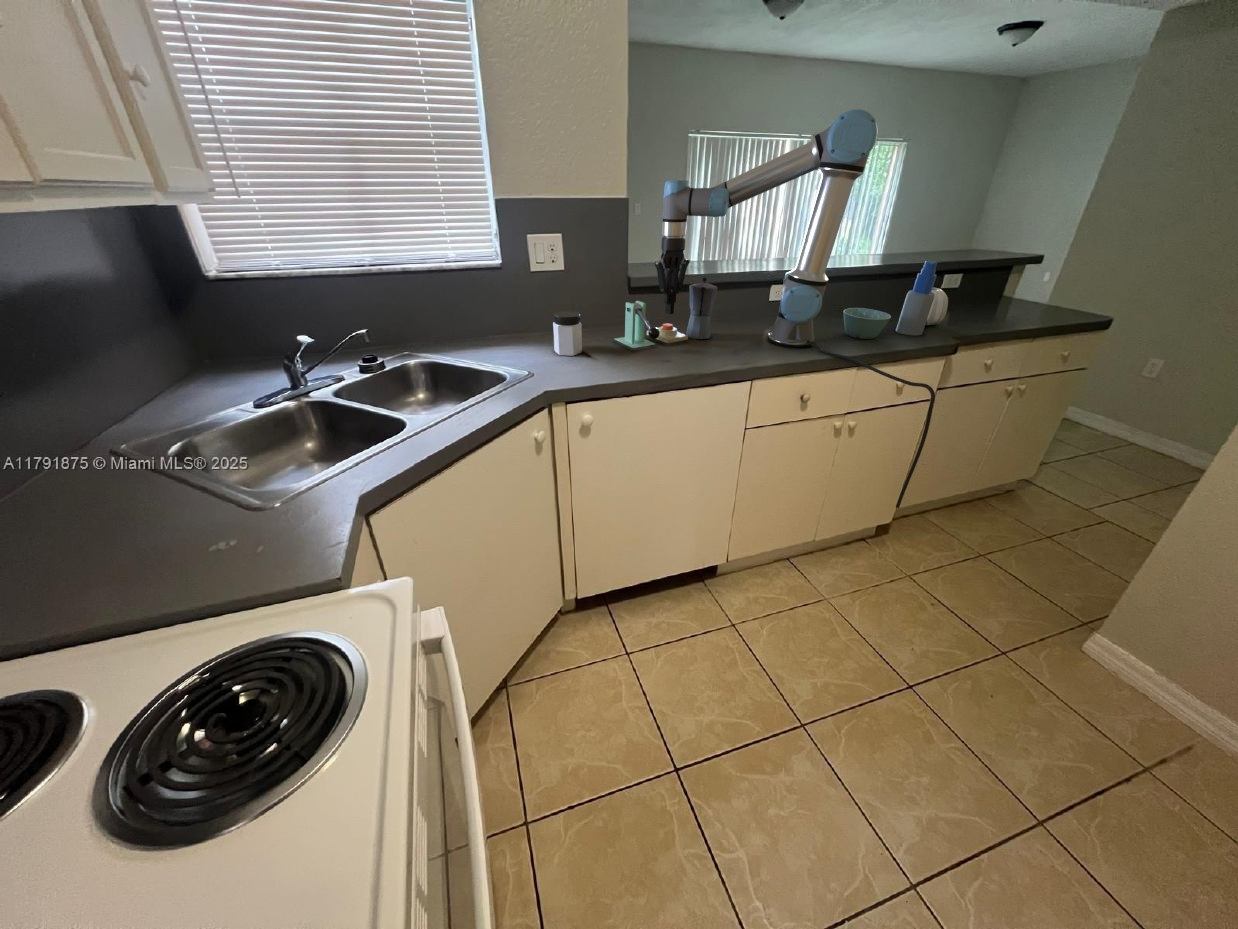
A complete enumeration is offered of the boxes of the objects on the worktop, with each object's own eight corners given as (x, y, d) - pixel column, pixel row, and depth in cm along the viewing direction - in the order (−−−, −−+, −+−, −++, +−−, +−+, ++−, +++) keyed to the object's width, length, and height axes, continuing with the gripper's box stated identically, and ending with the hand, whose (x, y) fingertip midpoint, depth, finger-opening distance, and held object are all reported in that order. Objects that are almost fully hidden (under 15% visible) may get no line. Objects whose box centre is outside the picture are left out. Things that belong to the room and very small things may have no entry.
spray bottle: (897, 327, 189) (918, 258, 176) (923, 331, 185) (946, 261, 172) (894, 332, 182) (916, 261, 170) (921, 336, 178) (945, 264, 166)
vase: (911, 317, 204) (922, 283, 197) (947, 324, 195) (959, 289, 188) (896, 322, 196) (907, 287, 190) (933, 329, 187) (945, 293, 180)
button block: (687, 342, 167) (688, 331, 165) (666, 346, 163) (667, 334, 161) (666, 334, 176) (667, 322, 174) (646, 337, 172) (646, 326, 170)
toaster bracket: (655, 347, 162) (657, 304, 155) (633, 351, 158) (634, 308, 150) (635, 338, 170) (636, 297, 163) (613, 342, 166) (614, 300, 159)
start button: (674, 330, 167) (675, 325, 166) (666, 331, 165) (666, 326, 164) (668, 327, 170) (668, 322, 169) (660, 329, 168) (660, 324, 167)
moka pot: (710, 332, 179) (717, 274, 169) (713, 344, 166) (720, 283, 156) (684, 330, 180) (689, 273, 170) (685, 343, 167) (691, 281, 156)
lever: (659, 340, 154) (663, 331, 152) (650, 342, 153) (654, 333, 150) (636, 309, 161) (639, 300, 158) (627, 310, 159) (630, 301, 156)
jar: (585, 354, 154) (584, 316, 148) (561, 357, 151) (559, 318, 145) (575, 346, 161) (574, 309, 155) (551, 349, 158) (549, 311, 152)
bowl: (893, 337, 176) (900, 314, 172) (868, 344, 169) (875, 320, 164) (854, 327, 187) (860, 306, 183) (829, 333, 180) (834, 311, 176)
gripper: (682, 234, 158) (677, 308, 170) (649, 236, 152) (647, 313, 164) (697, 236, 153) (691, 313, 165) (664, 238, 147) (660, 317, 159)
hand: (669, 313), depth 165 cm, fingers closed
